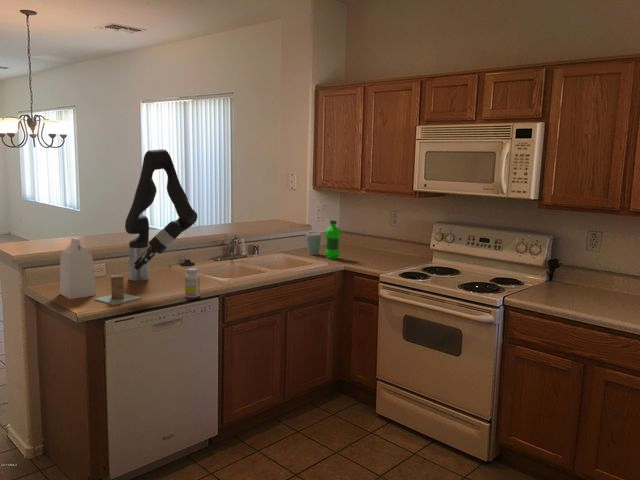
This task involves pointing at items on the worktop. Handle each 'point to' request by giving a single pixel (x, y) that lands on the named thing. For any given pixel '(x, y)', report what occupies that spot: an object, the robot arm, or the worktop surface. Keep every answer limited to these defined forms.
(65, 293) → the milk
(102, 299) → the sage board
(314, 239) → the disposable coffee cup
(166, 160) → the robot arm
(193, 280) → the supplement bottle
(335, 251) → the plastic bottle
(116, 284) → the walnut block
